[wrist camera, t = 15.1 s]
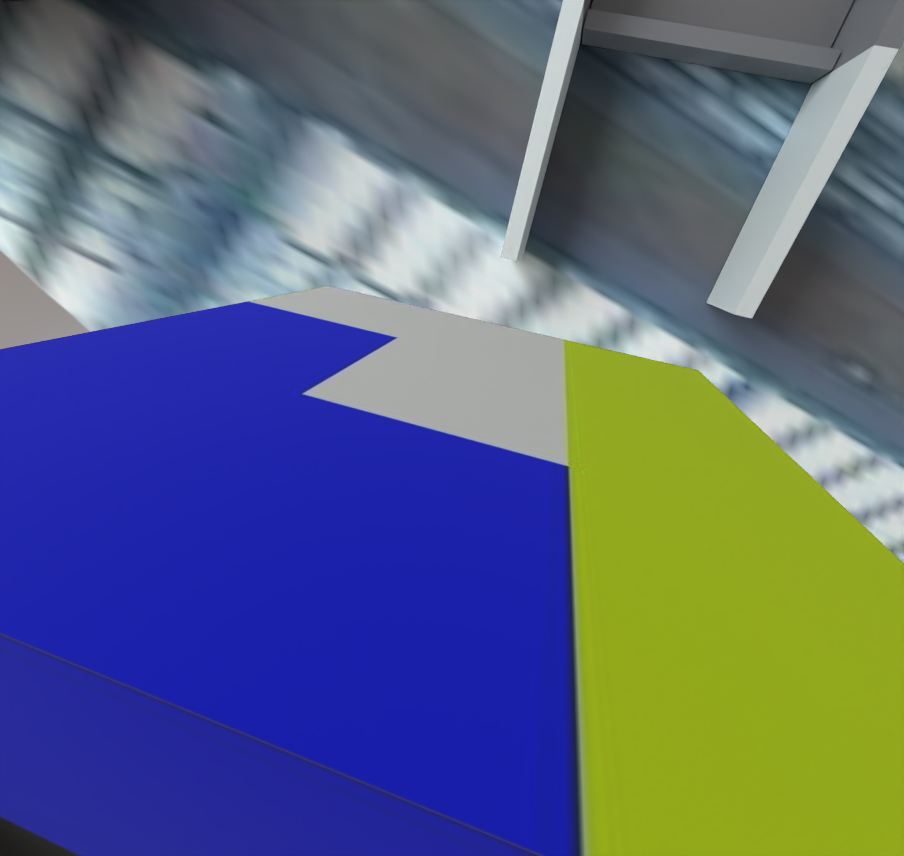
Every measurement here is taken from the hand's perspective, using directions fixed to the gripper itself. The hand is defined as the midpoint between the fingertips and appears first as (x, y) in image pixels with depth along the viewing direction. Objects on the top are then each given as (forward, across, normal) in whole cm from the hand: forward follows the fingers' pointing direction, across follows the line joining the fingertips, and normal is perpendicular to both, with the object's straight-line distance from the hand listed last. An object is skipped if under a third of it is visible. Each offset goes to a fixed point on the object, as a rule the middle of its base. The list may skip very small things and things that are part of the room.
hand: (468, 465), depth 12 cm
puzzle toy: (+1, 0, +1) cm, 1 cm away
